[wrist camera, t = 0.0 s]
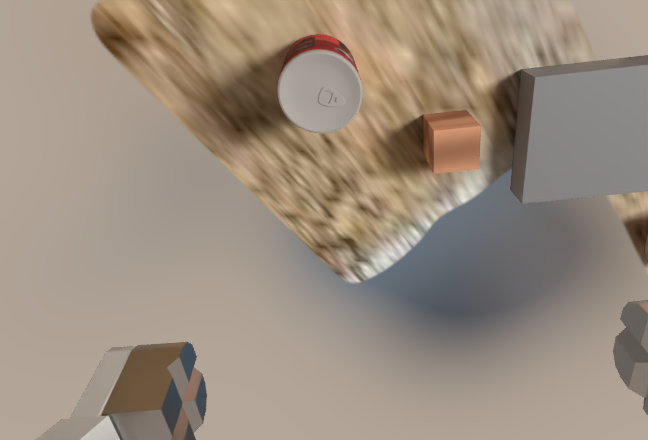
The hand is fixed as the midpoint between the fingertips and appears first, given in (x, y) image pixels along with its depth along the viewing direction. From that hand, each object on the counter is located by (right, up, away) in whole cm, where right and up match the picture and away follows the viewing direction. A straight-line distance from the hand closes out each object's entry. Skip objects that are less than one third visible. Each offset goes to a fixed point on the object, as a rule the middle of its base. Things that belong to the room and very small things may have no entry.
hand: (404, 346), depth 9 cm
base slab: (+29, +14, +48) cm, 57 cm away
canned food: (-2, +19, +44) cm, 48 cm away
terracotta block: (+13, +13, +48) cm, 51 cm away
